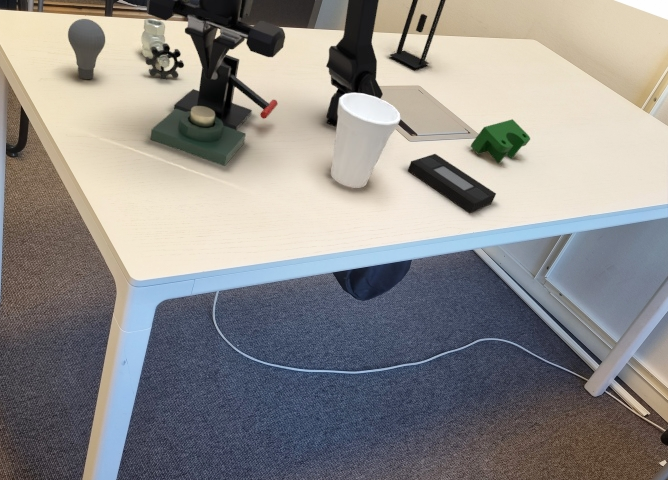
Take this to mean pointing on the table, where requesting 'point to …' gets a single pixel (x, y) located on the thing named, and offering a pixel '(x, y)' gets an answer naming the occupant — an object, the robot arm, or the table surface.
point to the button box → (198, 137)
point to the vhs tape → (452, 182)
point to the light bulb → (86, 45)
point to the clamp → (500, 140)
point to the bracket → (218, 96)
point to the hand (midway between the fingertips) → (209, 78)
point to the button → (202, 116)
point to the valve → (158, 49)
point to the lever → (252, 95)
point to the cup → (361, 137)
